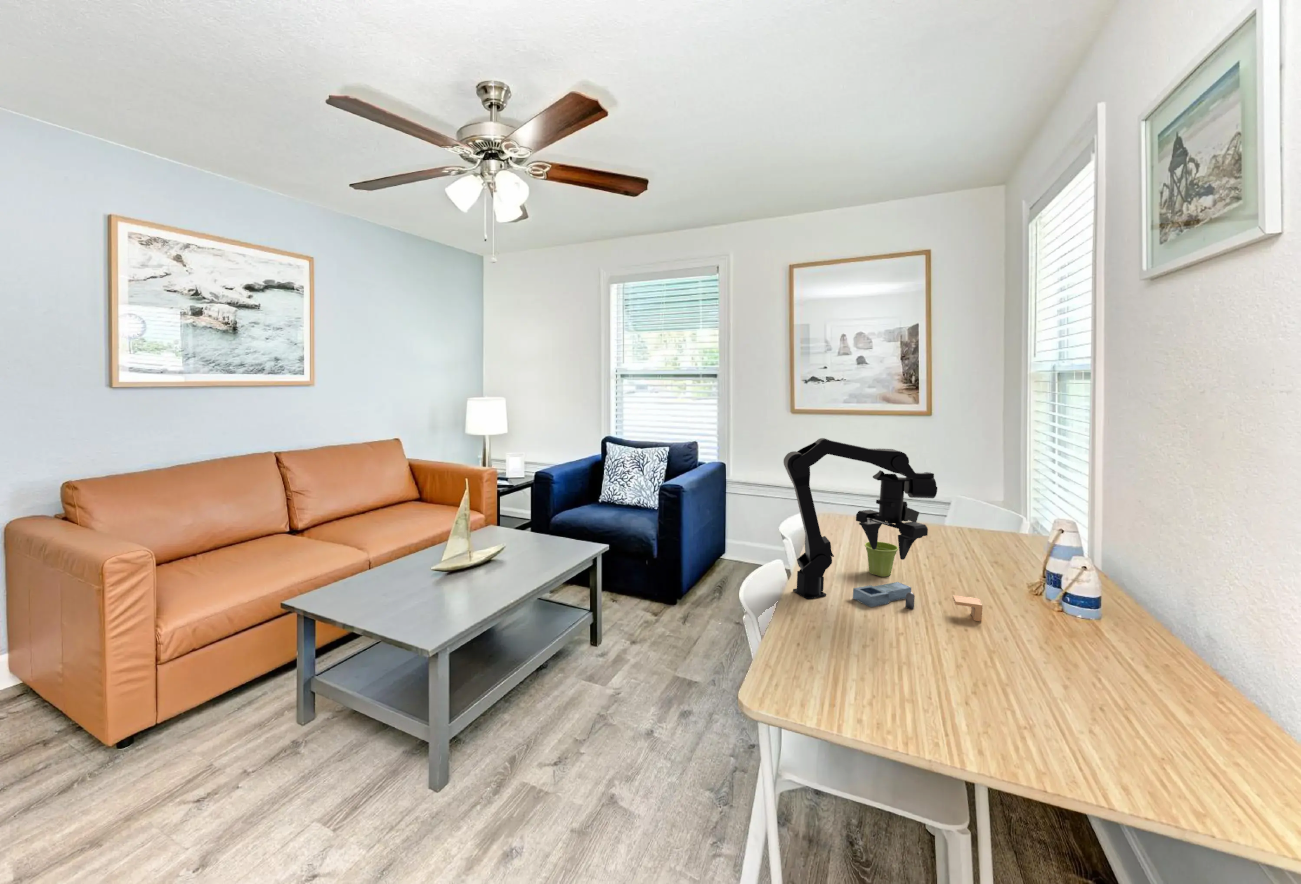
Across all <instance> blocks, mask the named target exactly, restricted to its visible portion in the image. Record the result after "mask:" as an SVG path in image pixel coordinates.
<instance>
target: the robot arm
mask: <svg viewBox="0 0 1301 884" xmlns="http://www.w3.org/2000/svg"><path fill="white" fill-rule="evenodd" d="M827 455H831V456H834V457H840V458H845V459H850V460H853V461H859V462H864V463H867V464H871V465H874V466H877V467H879V468H881V469H884V470H886V471H888V472H891V473H885V472H884V471H883V470H880V469H879V470H878V472H876V473H875V474H874V475H872V478H873V479H875V480H877V481H880V488H879V490H880V493H879V498H878V499H876V500H875V503H876V504H877V505H879V509H878V511H876V510H872V509H866V510H858V512H857V513H855V514H856V515H855V522H859V523H858V525H859V526H861V528H862V529H863V532H864V533H865V535H866V537H867V540H868V542H870V545H871V547H872V549H873V550H875V549H876V548H877V542H879V541H878V539H879V530H880V529H881V527H882V525H884V526H887V527H891V528H895V529H897V530H898V532H899V533H900V534H897V541H898V551H899V552H898V553H899V557H900V560H901V561H903V560H905V559H906V558H907V556H908V553H909V551H910V549H911V547H912V545H913V544H914V543H915V542H916V540H917V539H922V538H923V537H927V536H928V534H929V532H928V531H929V528H928V527H927V525H926V524H924V523H920V522H918V518H919V515H920V511H917V510H915V509H912V508H910V507H908V502H907V501H905V500H904V499H905V498H904V497H905V494H906V495H907V496H908V498H911V499H935V498H936V497H937V492H938V486H937V482H936V479H935V473H933V472H931V471H930V472H928V471H926V472H915V471H914V469H913V468H912V466H911V465H910V459H909V457H908V455H907V454H906V452H903V451H900V450H897V449H894V448H869V447H868V448H867V447H864V446H863V447H862V446H859V445H855V444H849V443H844V442H841V441H840V442H839V441H834V440H830V439H827V438H825V437H821V438H818V439H817V440H815V441H814V442H812V443H810V444H808V445H806V446H804V447H802V448H800V449H799V450H797V451H796V450H795V451H793V450H792V451H790V452H788V453H786V455H785V456H784V457H783V466H784V468H785V471H786V473H787V475H788V477H789V480H790V481H791V483H792V485H793V489H794V491H795V495H796V500H797V504H798V508H799V512H800V517H801V523H802V525H803V530H804V552H803V553H802V554H801V555H800V556H799V557H797V559H796V561H797V565H798V568H800V569H799V570H797V573H796V587H795V588H793V589H792V592H794V593H796V594H797V595H799V596H801V597H803V598H805V599H807V600H811V599H817V598H823V597H826V596H827V593H825V592H824V583H825V581H824V580H825V579H824V574H825V572H826V570H827V569H829V568H830V567H831V565H832V564H833V558H834V557H835V555H834V554H833V551H832V543H831V541H830V540H829V539H828V538H827V536H826V535H824V536H822V534H821V529H820V524H819V520H818V517H817V516H818V515H817V511H816V508H815V503H814V499H813V495H812V491H811V486H810V484H811V483H810V480H811V467H812V466H813V465H815V464H816V463H818V462H819V461H820V460H821V459H822V458H823V457H825V456H827ZM897 474H899V475H901V476H902V477H900V476H899V477H898V475H897ZM903 476H904V477H903Z"/></svg>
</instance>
